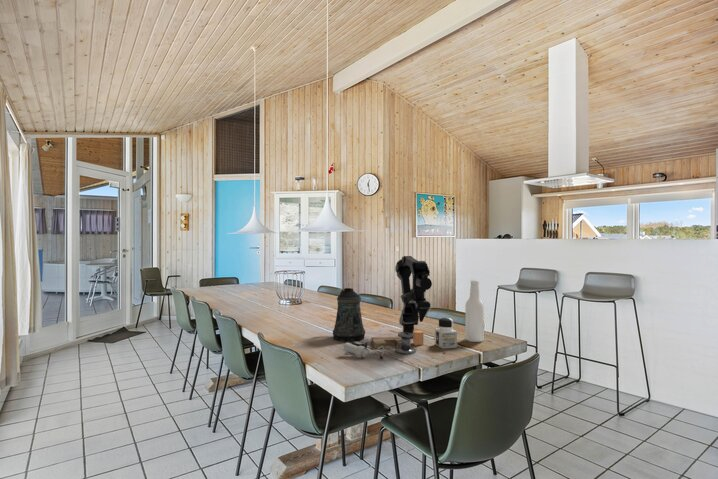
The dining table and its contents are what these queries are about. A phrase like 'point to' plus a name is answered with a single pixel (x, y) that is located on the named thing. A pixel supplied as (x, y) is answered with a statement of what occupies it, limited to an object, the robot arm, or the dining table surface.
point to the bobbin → (405, 343)
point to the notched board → (385, 341)
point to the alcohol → (474, 315)
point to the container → (445, 334)
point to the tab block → (418, 338)
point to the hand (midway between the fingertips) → (418, 319)
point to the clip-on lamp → (359, 349)
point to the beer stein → (348, 317)
